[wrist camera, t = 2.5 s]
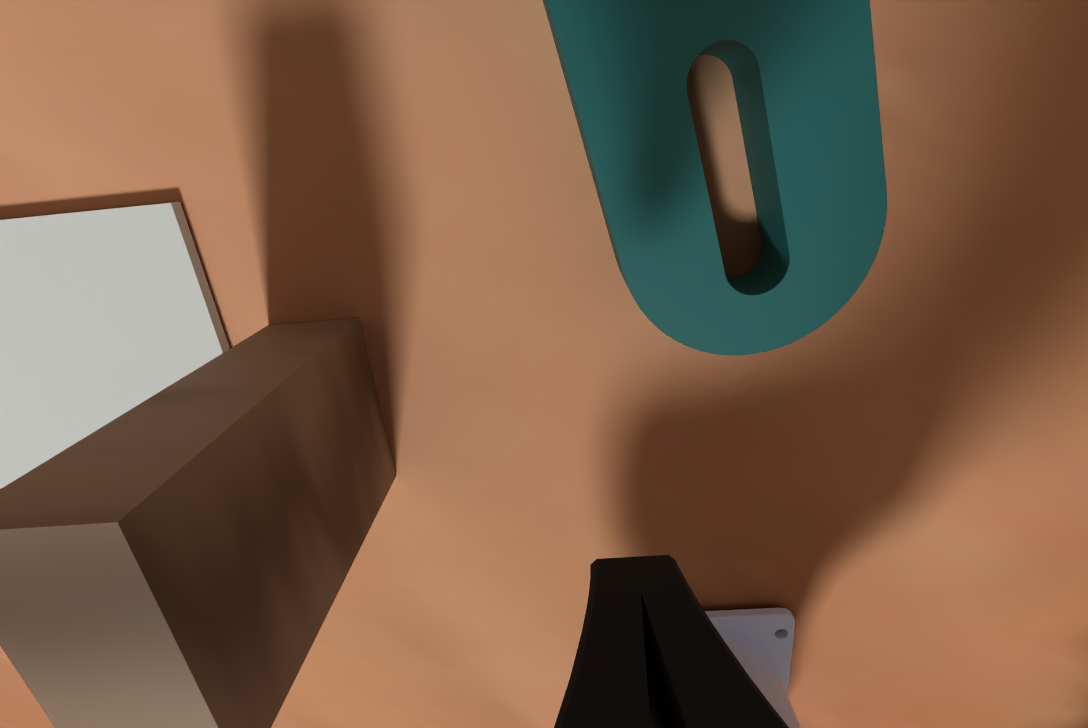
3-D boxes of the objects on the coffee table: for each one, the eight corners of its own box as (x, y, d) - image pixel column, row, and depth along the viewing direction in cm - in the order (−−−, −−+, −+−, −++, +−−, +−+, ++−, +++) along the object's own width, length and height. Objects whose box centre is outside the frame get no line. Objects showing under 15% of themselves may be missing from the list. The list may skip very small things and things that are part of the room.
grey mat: (304, 568, 21) (300, 576, 21) (20, 584, 22) (11, 592, 21) (179, 201, 16) (170, 203, 15) (-189, 238, 16) (-207, 240, 16)
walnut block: (396, 475, 19) (244, 780, 10) (315, 480, 19) (93, 785, 10) (358, 317, 17) (117, 522, 8) (268, 325, 17) (-74, 534, 8)
